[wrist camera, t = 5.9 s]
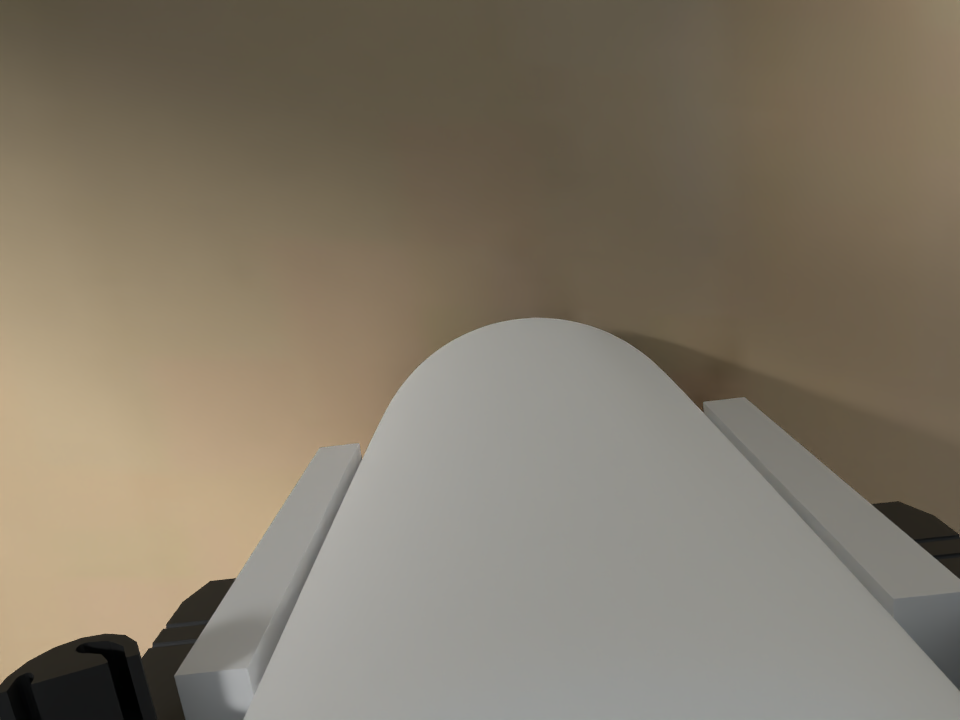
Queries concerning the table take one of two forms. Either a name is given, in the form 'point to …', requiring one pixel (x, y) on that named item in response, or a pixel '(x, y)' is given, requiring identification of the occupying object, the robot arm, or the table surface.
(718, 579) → the can
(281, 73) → the table surface
